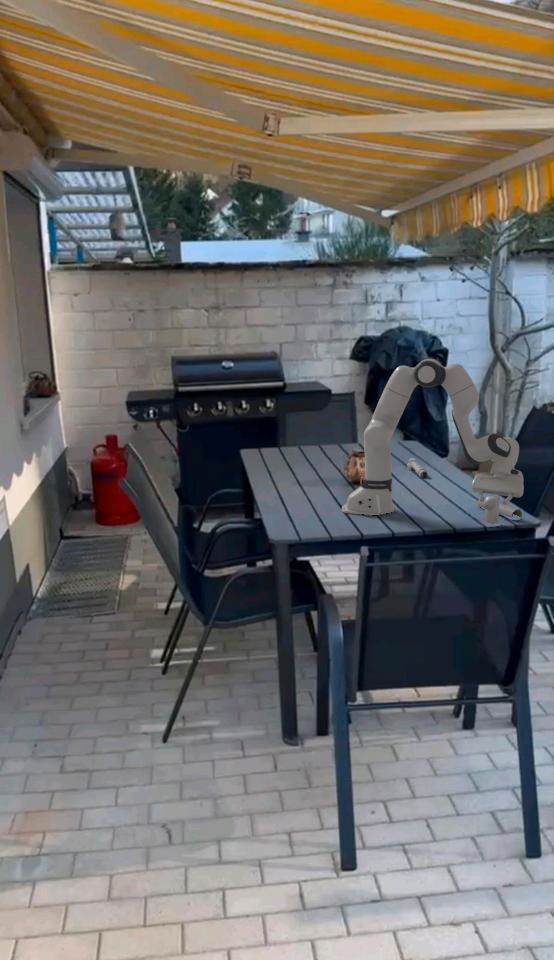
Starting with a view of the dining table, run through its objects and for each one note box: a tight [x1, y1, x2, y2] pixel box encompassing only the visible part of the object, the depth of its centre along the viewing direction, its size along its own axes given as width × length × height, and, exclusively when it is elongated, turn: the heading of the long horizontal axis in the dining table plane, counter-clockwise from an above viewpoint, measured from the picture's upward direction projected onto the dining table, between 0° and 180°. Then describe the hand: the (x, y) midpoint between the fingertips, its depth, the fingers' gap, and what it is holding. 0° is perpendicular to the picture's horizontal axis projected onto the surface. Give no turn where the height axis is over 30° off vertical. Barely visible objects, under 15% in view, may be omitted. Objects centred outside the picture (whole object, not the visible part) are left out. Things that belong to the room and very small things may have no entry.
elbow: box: [484, 495, 500, 524], centre depth 309 cm, size 8×6×11 cm
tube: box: [477, 497, 523, 519], centre depth 328 cm, size 5×5×25 cm
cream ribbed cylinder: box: [406, 457, 429, 479], centre depth 408 cm, size 5×7×25 cm
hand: (492, 502), depth 311 cm, fingers open, 8 cm apart
